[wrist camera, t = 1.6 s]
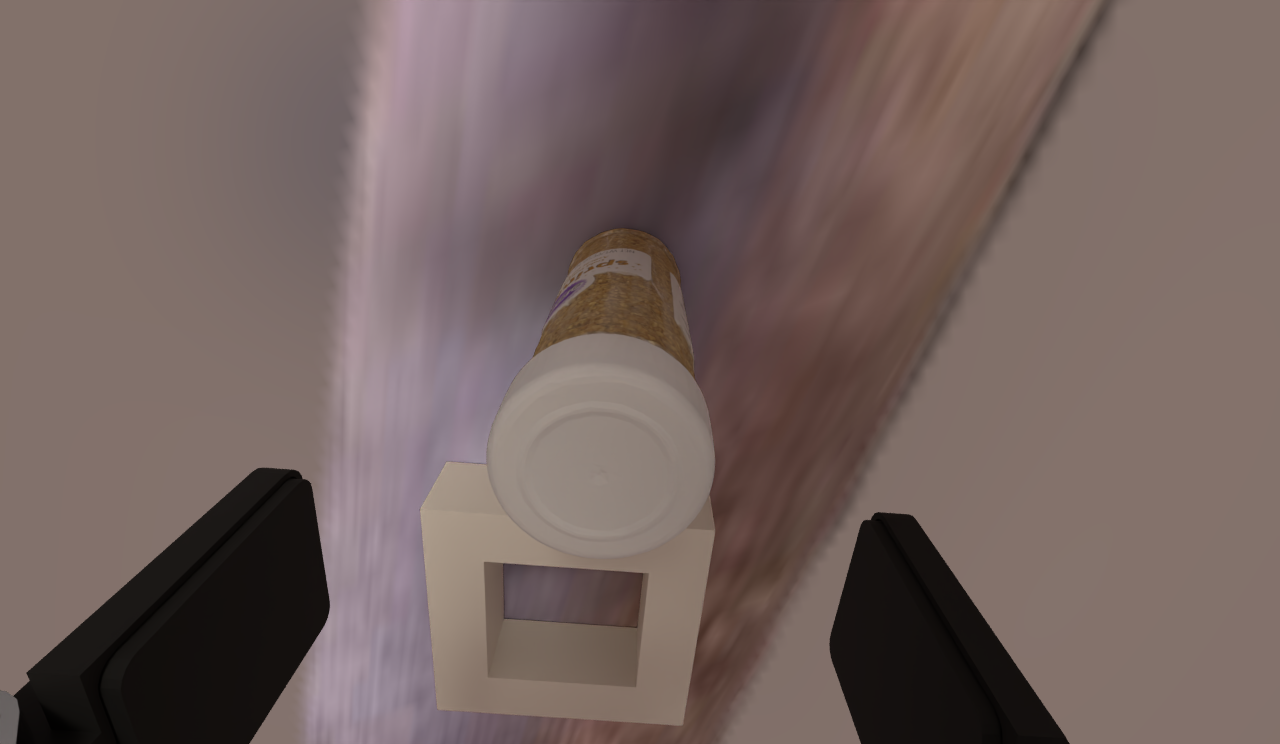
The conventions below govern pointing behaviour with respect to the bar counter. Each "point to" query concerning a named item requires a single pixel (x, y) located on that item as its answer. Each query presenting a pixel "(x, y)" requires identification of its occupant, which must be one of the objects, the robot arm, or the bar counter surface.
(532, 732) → the bar counter surface
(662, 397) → the sprinkles bottle
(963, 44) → the bar counter surface
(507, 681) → the collar
